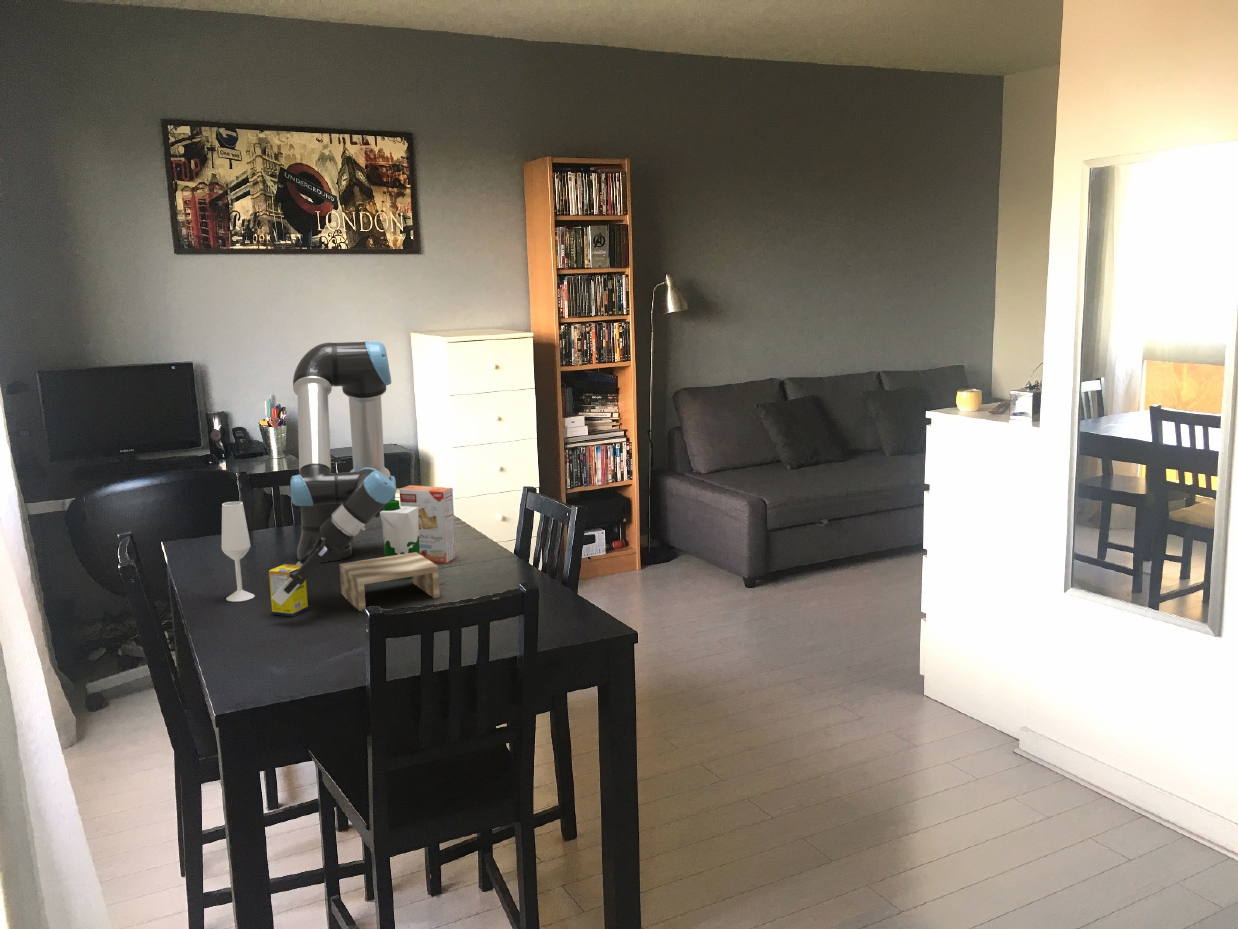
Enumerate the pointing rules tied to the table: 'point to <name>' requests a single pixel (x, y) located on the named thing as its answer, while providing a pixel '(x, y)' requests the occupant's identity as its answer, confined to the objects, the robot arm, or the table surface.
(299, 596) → the supplement box
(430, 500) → the cracker box
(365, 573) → the oak shelf
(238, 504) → the champagne flute
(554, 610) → the table surface
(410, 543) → the milk carton
